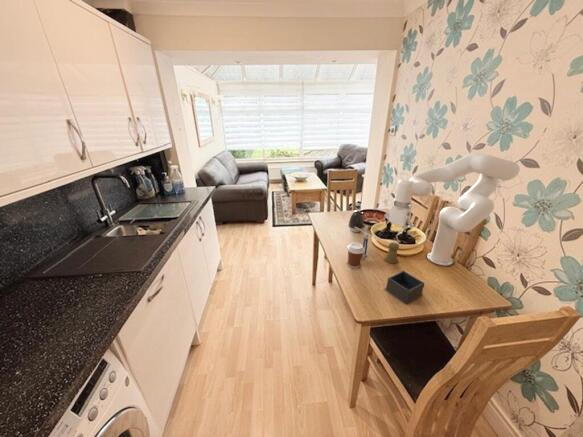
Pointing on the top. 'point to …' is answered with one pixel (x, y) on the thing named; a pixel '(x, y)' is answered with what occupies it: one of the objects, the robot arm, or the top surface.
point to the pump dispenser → (356, 221)
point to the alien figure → (366, 239)
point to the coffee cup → (355, 254)
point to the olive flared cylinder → (392, 253)
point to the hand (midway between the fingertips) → (395, 233)
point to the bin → (405, 286)
